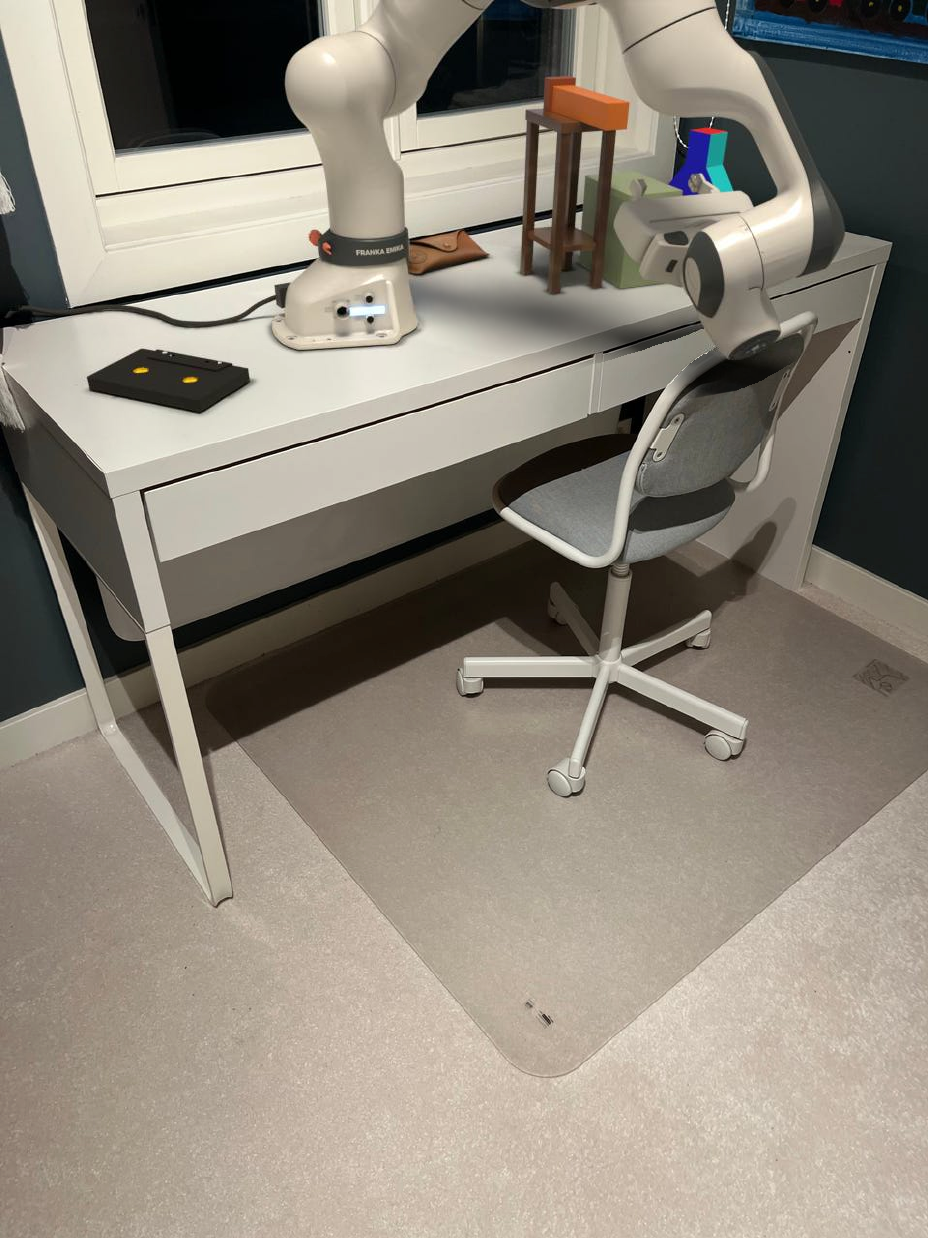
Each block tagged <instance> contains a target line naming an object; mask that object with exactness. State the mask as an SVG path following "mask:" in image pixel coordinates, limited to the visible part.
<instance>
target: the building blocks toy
mask: <svg viewBox="0 0 928 1238" xmlns="http://www.w3.org/2000/svg"><path fill="white" fill-rule="evenodd" d="M728 133H729V132H728V131H726V130H721V129H715V128H711V127H701V128H697V129H696V128H695V129H690V132H689V138H688V148H687V153H686V160H685V164H684V165H683V166H682V167H681V168H680V169H679V171H677V173H676V174H675V175H674V176H673V177H672V179H671V180H670V181H669V182H668V183H667V184H668V185H670V186H673V187H675V188H678V189H680V190H683V192H682V196H688V195H699V193H697V192H692V191H691V188H690V187H689V185H688V181H689V179H690V178H691V175H692V174H702V175H703V176H704V178H705V180H706V181H707V182H709V183H710V184H712V185H714V186H715V187H717V188H718V189H719V191H720V192H730V191H734V189H733V186H732V184H731V181H730V179H729V176H728V174H727V171H726V169H725V167H724V159H725V152H726V146H727V140H728Z"/></svg>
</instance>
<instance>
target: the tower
mask: <svg viewBox="0 0 928 1238" xmlns="http://www.w3.org/2000/svg"><path fill="white" fill-rule="evenodd" d="M576 80H577V77H575V76H571V75H567V76H565V75H564V76H548V77H547V76H546V77H544V90H543V106H542V107H543V108H542V109H544V110H546V111H552V112H555V113H558V114H560V115H563V116H566V117H569V118H572V119H574V120H577V121H580V122H583V123H586V124H588V125H591V126H594V127H597V128H600V129H602V130H605V131H611V130H616V131H623V130H628V121H629V115H630V114H629V112H630V103H631V102H630V101H627V100H624V99H620V98H617V97H614V96H611V95H607V94H604V93H601V92H597V91H594V90H591V89H588V88H584V87H581V86H577V85H576V82H577V81H576Z"/></svg>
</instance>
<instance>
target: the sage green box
mask: <svg viewBox="0 0 928 1238" xmlns="http://www.w3.org/2000/svg"><path fill="white" fill-rule="evenodd" d="M598 177H599V173H597V174H587V175H584V186H583V187H584V188H583V199H582V210H581V211H582V212H581V213H582V214H581V226H580V230H581V231H583V232H585V233H587V234H589V235H591V236H592V237H593V236H594V224H595V212H596V201H597V189H598ZM633 179H644V182H645V183H646V185H647V189H646V191H645V192H644V195H643V196H646V198H647V199H656V198H667V197H677V196H682V192H683V190H680V189H678V188H675V187H673V186H670V185H668V183H665V182H662V181H660V180H657V179H655V178H653V177H651V176H648V175H645V174H642V173H640V172H638V171H636V170H634V171H624V172H623V171H622V172H612V180H611V191H610V202H609V212H608V223H607V234H606V245H605V255H604V266H603V277H602V280H605V281H606V282H608V283H610V284H612V285H614V286H615V287H617V288H618V289H621V290H622V289H628V288H630V289H631V288H636V287H643V286H644V287H645V286H652V285H660V284H661V285H662V283H661V282H655V281H648V280H645V279H643V278H642V277H641V275H640V273H639V268H640V265H641V263H638V262H636V261H634V260H633V259H632V258H631V257H630V256H629V255H628V253H627V252H626V250H625V248H624V247H623V245H622V243H621V242H620V240H619V238H618V236H617V234H616V232H615V229H614V220H615V217H616V214H617V212H618V210H619V208H620V206H621V205H622V203H623V202H625V201H633V196H632V194H631V192H630V185H631V182H632V180H633ZM578 252H579V253H578V265H580V266H582V267H583V268H585V269H587V270H588V271H589V272H590V271H591V259H592V249H591V250H582V251H578Z"/></svg>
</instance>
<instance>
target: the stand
mask: <svg viewBox="0 0 928 1238" xmlns="http://www.w3.org/2000/svg"><path fill="white" fill-rule="evenodd" d="M524 116H525V117H524V120H525V121H526V126H525V128H526V129H525V149H524V150H525V153H524V176H523V178H524V179H523V203H522V223H521V224H522V225H521V244H520V245H521V248H520V271H519V273H520V274H522V275H523V276H529V275H533V263H534V262H533V261H534V243H537V244H538V245H540V246H542V247H543V248H544V249H547V250H548V251H549V258H548V259H549V260H548V261H549V262H548V275H547V276H548V278H547V292H548V293H549V294H551V295H556V294H560V293H561V284H562V283H561V282H562V271H572V270H573V261H574V252H579V251H582V250H591V249H592V259H591V271H590V270H589V272H590V273H589V284H588V285H589V287H590V288H592V289H600V288H601V289H602V287H603V286H602V285H603V278H602V277H603V266H604V255H605V245H606V234H607V223H608V212H609V202H610V191H611V180H612V173H613V170H614V169H613V168H614V156H615V148H616V147H615V146H616V145H615V144H616V136H617V130H611V131H605V130H602V129H600V128H597V127H594V126H591V125H588V124H586V123H583V122H580V121H577V120H574V119H572V118H569V117H566V116H563V115H560V114H558V113H555V112H552V111H546V110H544V109H543V108H532V109H531V108H530V109H525V115H524ZM540 127H542V128H545V129H548V130H550V131H553V132H556V140H555V141H556V144H555V161H554V175H553V177H554V178H553V192H552V195H553V196H552V209H551V211H552V212H551V226H543V227H535V223H536V222H535V221H536V202H537V201H536V200H537V185H538V184H537V182H538V162H539V144H540V143H539V141H540V140H539V139H540ZM591 132H593V133H594V132H601V143H600V155H599V166H598V167H599V168H598V174H599V177H598V189H597V201H596V212H595V224H594V236H593V237H592V236H591V235H589V234H587V233H585V232H583V231H581V229H579V228H577V227H576V221H577V208H578V194H579V181H580V167H581V166H580V165H581V152H582V139H583V133H591Z"/></svg>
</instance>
